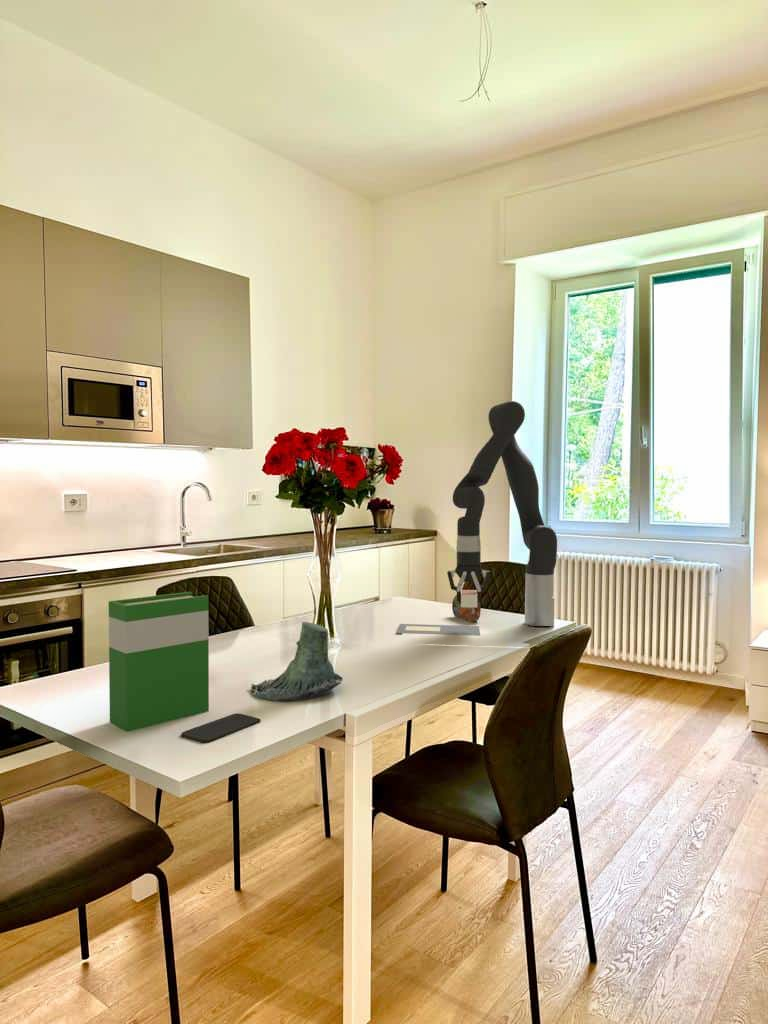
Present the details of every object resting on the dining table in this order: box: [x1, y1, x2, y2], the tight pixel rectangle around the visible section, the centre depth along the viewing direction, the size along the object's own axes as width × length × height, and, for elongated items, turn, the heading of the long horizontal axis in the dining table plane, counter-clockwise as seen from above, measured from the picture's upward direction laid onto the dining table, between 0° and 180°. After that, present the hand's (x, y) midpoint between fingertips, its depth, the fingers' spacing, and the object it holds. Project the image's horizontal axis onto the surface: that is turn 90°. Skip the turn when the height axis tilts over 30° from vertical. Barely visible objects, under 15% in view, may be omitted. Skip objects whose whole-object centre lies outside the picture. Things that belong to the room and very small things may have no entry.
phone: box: [180, 713, 262, 744], centre depth 138 cm, size 7×1×15 cm
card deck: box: [461, 589, 477, 607], centre depth 226 cm, size 5×9×4 cm, turn 175°
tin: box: [451, 594, 482, 623], centre depth 246 cm, size 15×3×8 cm, turn 25°
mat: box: [395, 623, 481, 637], centre depth 228 cm, size 26×14×1 cm, turn 84°
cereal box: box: [108, 591, 210, 733], centre depth 144 cm, size 18×7×24 cm, turn 135°
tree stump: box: [250, 621, 343, 703], centre depth 163 cm, size 18×20×18 cm
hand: (468, 602), depth 226 cm, fingers closed on card deck, 5 cm apart
